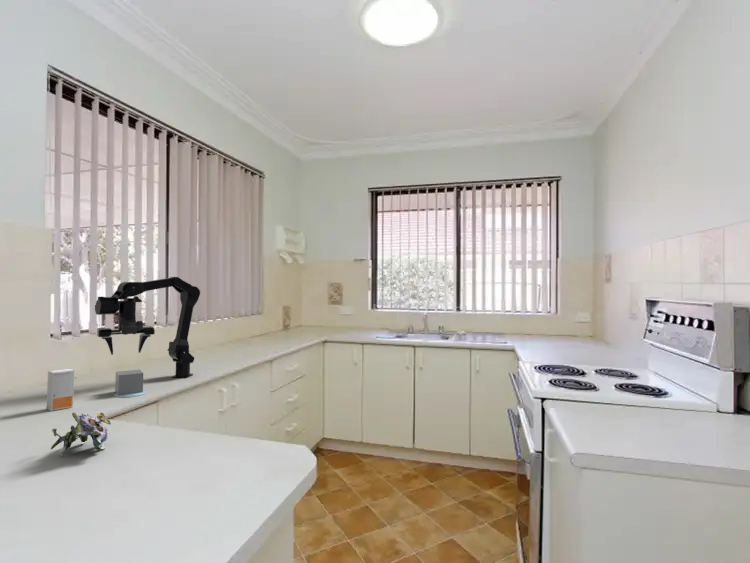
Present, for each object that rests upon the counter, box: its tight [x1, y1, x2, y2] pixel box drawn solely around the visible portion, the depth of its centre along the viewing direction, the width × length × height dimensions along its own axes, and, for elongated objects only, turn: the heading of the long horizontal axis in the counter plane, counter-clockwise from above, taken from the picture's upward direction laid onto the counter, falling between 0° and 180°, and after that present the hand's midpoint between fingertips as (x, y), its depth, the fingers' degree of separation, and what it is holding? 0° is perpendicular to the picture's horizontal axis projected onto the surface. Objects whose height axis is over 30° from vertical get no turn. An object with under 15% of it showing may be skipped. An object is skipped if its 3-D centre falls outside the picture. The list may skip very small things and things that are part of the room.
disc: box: [113, 389, 147, 399], centre depth 147 cm, size 10×10×1 cm
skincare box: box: [45, 368, 75, 412], centre depth 129 cm, size 6×4×12 cm
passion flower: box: [50, 412, 112, 455], centre depth 96 cm, size 11×11×12 cm
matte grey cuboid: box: [114, 368, 144, 395], centre depth 150 cm, size 8×8×7 cm
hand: (125, 353), depth 159 cm, fingers open, 9 cm apart
